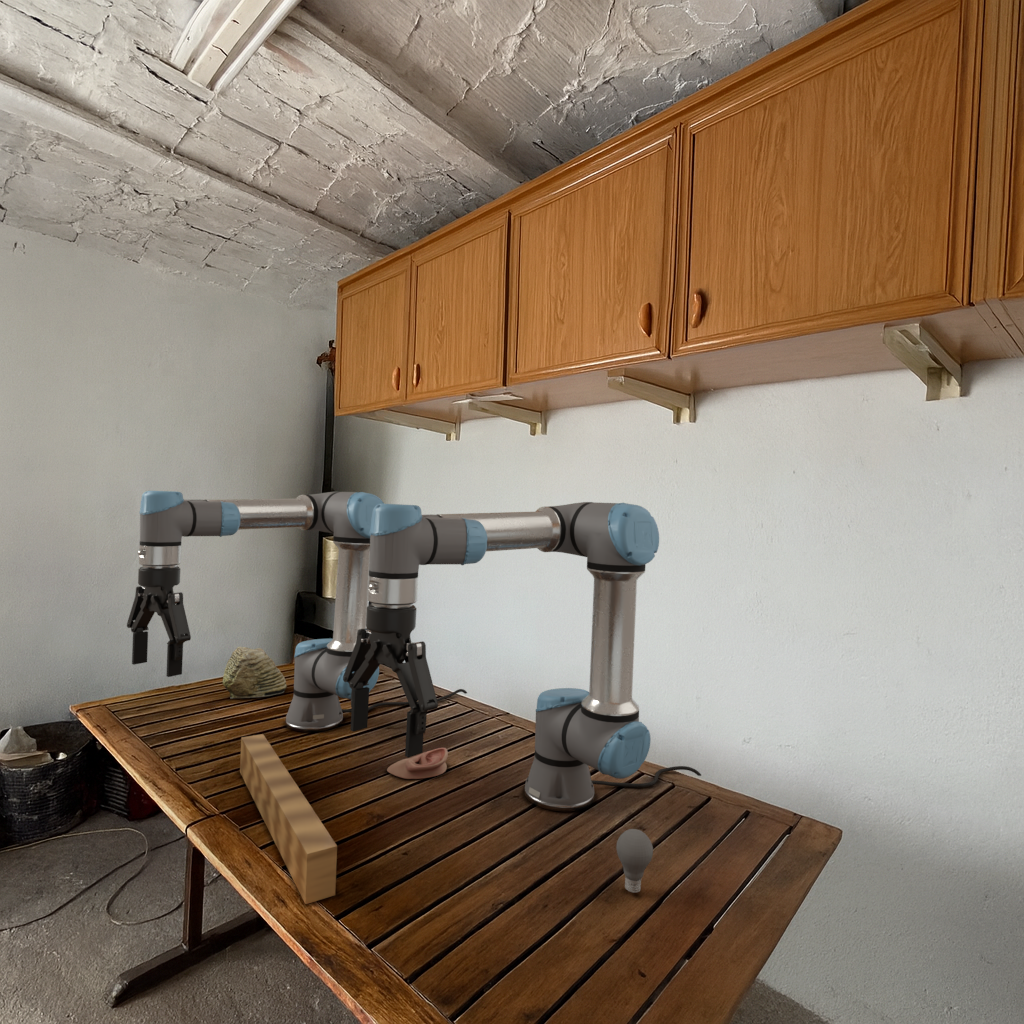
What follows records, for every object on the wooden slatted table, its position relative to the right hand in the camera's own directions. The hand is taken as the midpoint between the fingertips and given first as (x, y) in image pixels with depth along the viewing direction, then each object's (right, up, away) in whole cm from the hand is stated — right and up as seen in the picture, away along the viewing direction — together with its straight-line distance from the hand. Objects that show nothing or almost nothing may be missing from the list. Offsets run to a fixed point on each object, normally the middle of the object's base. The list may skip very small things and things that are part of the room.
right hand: (385, 741), depth 98 cm
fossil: (-61, -22, +100) cm, 120 cm away
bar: (-25, -25, +25) cm, 43 cm away
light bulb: (+40, -28, +8) cm, 49 cm away
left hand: (-54, +3, +32) cm, 63 cm away
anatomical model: (-3, -25, +51) cm, 57 cm away
